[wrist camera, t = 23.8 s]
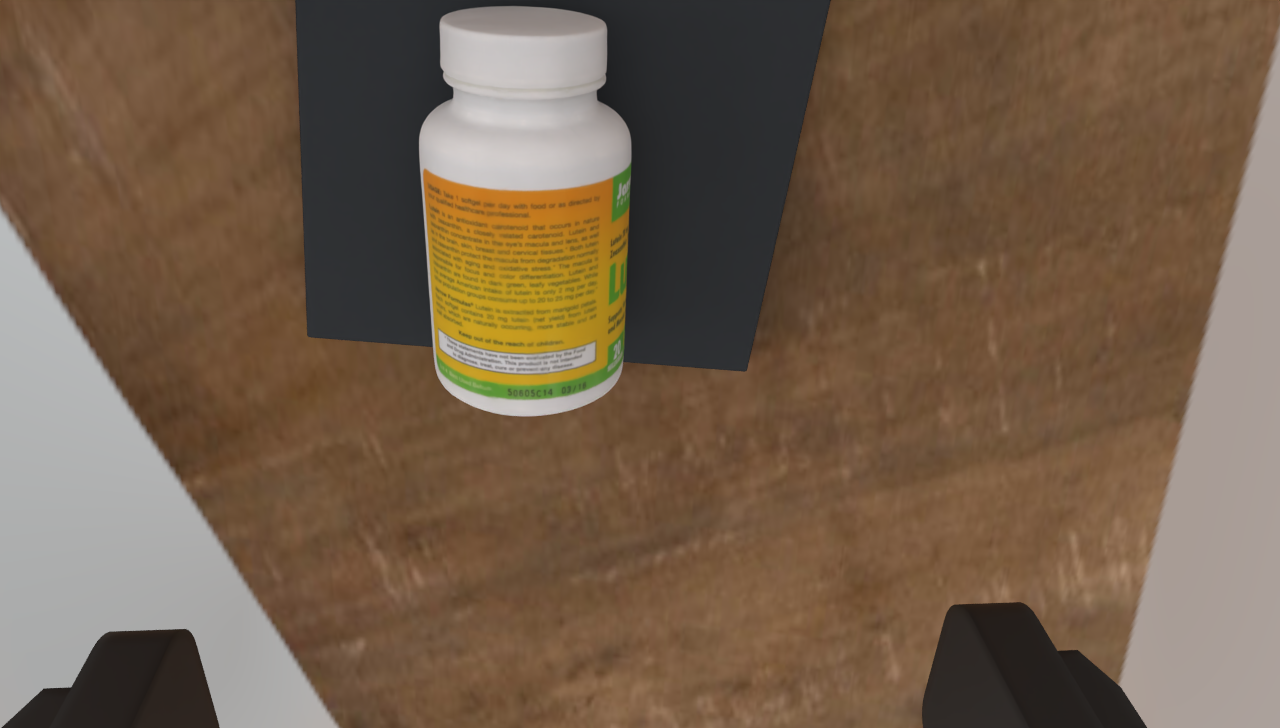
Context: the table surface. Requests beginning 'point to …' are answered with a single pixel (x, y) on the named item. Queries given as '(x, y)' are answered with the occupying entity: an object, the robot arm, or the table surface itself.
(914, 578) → the table surface
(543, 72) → the supplement bottle
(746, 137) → the charcoal mat
